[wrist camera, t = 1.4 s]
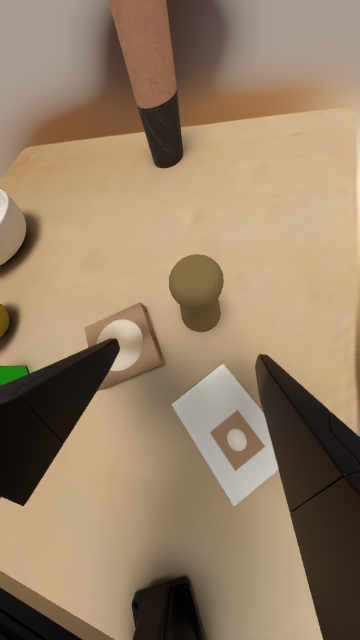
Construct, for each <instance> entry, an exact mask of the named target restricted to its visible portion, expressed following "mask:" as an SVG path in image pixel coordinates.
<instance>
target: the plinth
mask: <svg viewBox="0 0 360 640" xmlns="http://www.w3.org/2000/svg"><path fill="white" fill-rule="evenodd" d="M85 331H86V337H87V343H88V348H89V347H92V346H94V345H96V344H98V343H101V342H103V341H105V340H107V339H110V338H116V339H117V340H118V343H119V346H120V351H119V353H118V355H117V357H116V359H115V361H114V363H113V365H112V367H111V369H110V371H109V373H108V374H107V376H106V377H105V379H104V381H103V382H102V384H101V385H100V387H99V388H98V390H97V391H99V390H103V389H106V388H109V387H111V386H113V385H116V384H118V383H120V382H123V381H125V380H127V379H130V378H132V377H134V376H137V375H139V374H142V373H144V372H146V371H149V370H151V369H153V368H156V367H158V366H160V365H163V364H165V363H164V360H163V357H162V354H161V351H160V348H159V346H158V343H157V340H156V337H155V334H154V331H153V328H152V325H151V322H150V319H149V316H148V313H147V310H146V307H145V306H144V305H143V304H142V303H138V304H136V305H133V306H131V307H129V308H127V309H125V310H122V311H120V312H118V313H116V314H114V315H112V316H109V317H107V318H105V319H103V320H101V321H98V322H96V323H94V324H92V325H90V326H87V327H85Z"/></svg>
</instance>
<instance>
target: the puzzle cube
mask: <svg viewBox="0 0 360 640" xmlns="http://www.w3.org/2000/svg"><path fill="white" fill-rule="evenodd" d="M28 374H29V373H28V371H27V368H26V366H0V385H3V384H5V383H8V382H10V381H13V380H15V379H18V378H20V377H23V376H25V375H28Z"/></svg>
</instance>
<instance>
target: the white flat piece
mask: <svg viewBox="0 0 360 640" xmlns="http://www.w3.org/2000/svg"><path fill="white" fill-rule="evenodd" d="M171 405H172V407H173V408H174V410H175V411H176V413H177V415H178V416H179V418H180V420H181V421H182V423H183V424H184V426H185V428H186V429H187V431H188V433H189V434H190V436H191V438H192V439H193V441H194V442H195V444H196V446H197V447H198V449H199V451H200V452H201V454H202V456H203V457H204V459H205V460H206V462H207V464H208V465H209V467H210V469H211V470H212V472H213V474H214V475H215V477H216V478H217V480H218V482H219V483H220V485H221V487H222V488H223V490H224V492H225V493H226V495H227V496H228V498H229V500H230V501H231V503H232V505H233V506H235V505H237V504H238V503H239V502H240V501H241V500H243V499H244V498H245V497H246V496H248V495H249V494H250V493H251V492H252V491H254V490H255V489H256V488H257V487H258V486H260V485H261V484H262V483H263V482H264V481H266V480H267V479H268V478H269V477H270V476H272V475H273V474H274V473H275V472H276V471H278V470H279V469H278V465H277V461H276V458H275V454H274V450H273V446H272V442H271V438H270V435H269V431H268V427H267V423H266V419H265V416H264V413H263V412H262V410H261V409H260V408H259V407H258V405H257V404H256V403H255V402H254V401H253V399H252V398H251V397H250V396H249V394H248V393H247V392H246V391H245V390H244V388H243V387H242V386H241V385H240V383H239V382H238V381H237V380H236V379H235V377H234V376H233V375H232V374H231V372H230V371H229V370H228V369H227V368H226V366H225V365H224V364H221V365H220V366H219V367H218V368H216V369H215V370H214V371H213V372H211V373H210V374H209V375H208V376H206V377H205V378H204V379H203V380H201V381H200V382H199V383H198V384H196V385H195V386H194V387H193V388H191V389H190V390H189V391H188V392H186V393H185V394H184V395H182V396H181V397H180V398H179V399H177V400H176V401H175V402H174V403H172V404H171Z"/></svg>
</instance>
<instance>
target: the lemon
mask: <svg viewBox="0 0 360 640" xmlns="http://www.w3.org/2000/svg"><path fill="white" fill-rule="evenodd" d="M8 326H9V315H8V312H7V310H6V309H5V307H4V306H3V305H1V304H0V337H1V336H2V335H3V334H4V333H5V332H6V330H7V328H8Z"/></svg>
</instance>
